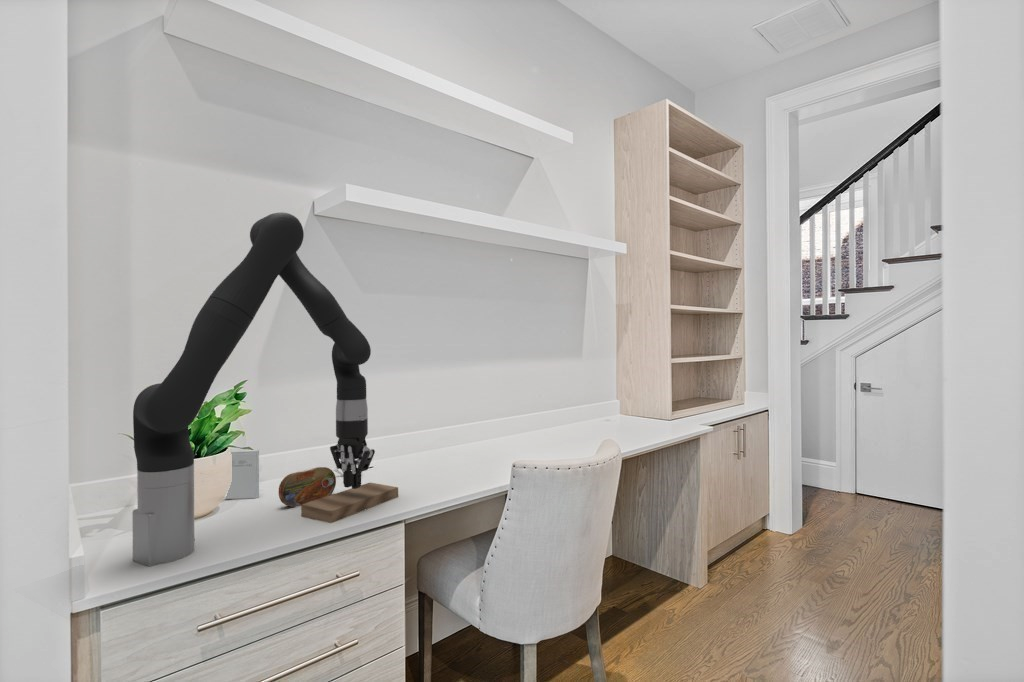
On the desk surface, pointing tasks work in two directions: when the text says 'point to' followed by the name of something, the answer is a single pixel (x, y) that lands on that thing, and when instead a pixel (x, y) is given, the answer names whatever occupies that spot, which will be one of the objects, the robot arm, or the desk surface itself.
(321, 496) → the tin
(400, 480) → the desk surface
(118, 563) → the desk surface
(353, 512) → the walnut riser
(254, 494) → the external hard drive
